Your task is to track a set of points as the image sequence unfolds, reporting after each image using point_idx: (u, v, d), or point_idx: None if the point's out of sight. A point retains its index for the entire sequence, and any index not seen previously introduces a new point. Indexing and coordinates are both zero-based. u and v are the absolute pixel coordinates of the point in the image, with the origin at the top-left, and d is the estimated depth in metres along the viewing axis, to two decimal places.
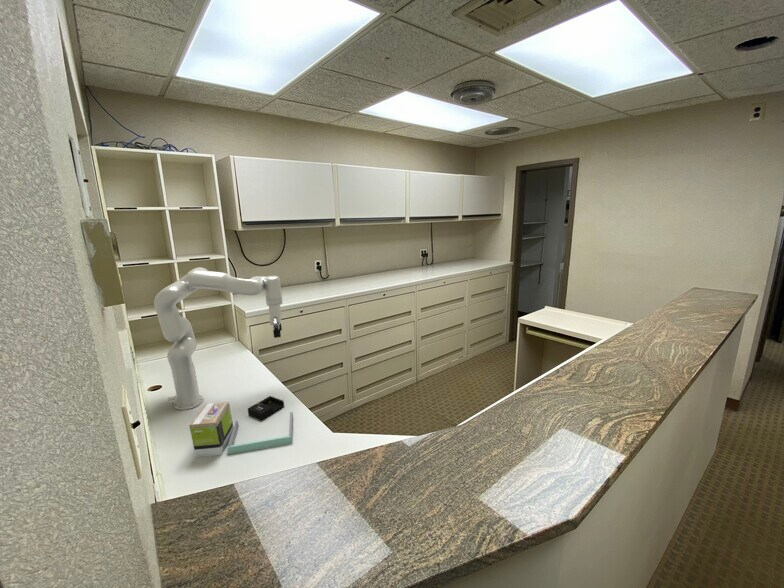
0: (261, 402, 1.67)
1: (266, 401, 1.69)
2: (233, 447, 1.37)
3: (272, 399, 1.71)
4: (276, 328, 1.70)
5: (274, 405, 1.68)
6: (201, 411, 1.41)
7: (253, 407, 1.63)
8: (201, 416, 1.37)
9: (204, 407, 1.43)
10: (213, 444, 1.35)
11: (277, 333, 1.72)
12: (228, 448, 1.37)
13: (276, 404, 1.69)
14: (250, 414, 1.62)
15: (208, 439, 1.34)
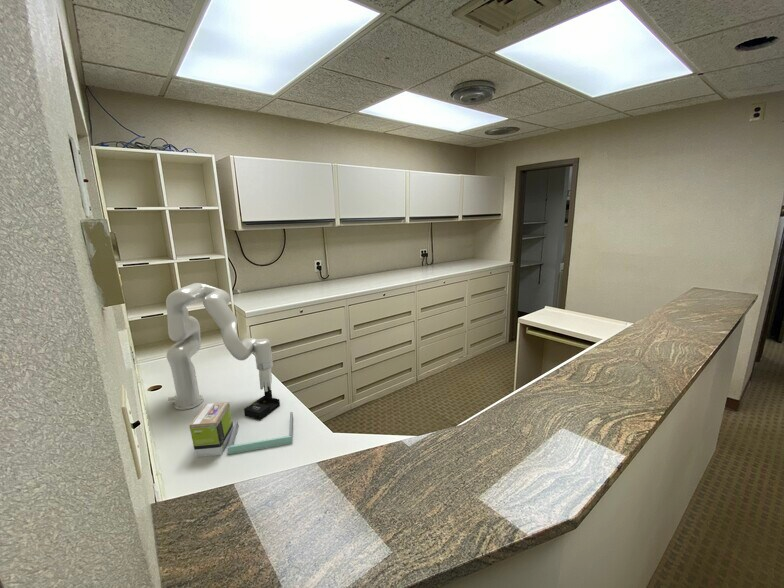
0: (256, 402, 1.67)
1: (261, 401, 1.69)
2: (233, 447, 1.37)
3: (267, 398, 1.72)
4: (267, 391, 1.72)
5: (269, 404, 1.69)
6: (201, 411, 1.41)
7: (249, 407, 1.63)
8: (201, 416, 1.37)
9: (204, 407, 1.43)
10: (213, 444, 1.35)
11: (268, 395, 1.73)
12: (228, 448, 1.37)
13: (271, 403, 1.70)
14: (247, 414, 1.61)
15: (208, 439, 1.34)
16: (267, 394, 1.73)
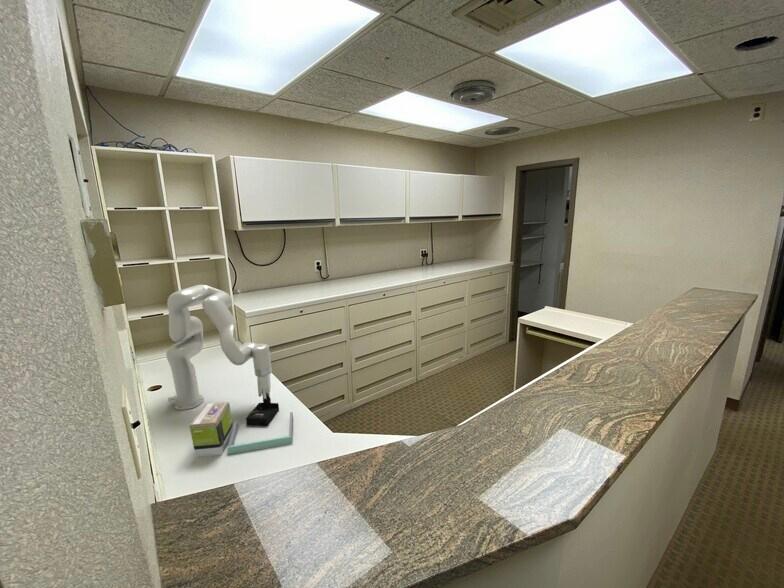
0: (255, 409, 1.60)
1: (259, 408, 1.63)
2: (233, 447, 1.37)
3: (263, 405, 1.66)
4: None
5: (268, 410, 1.64)
6: (201, 411, 1.41)
7: (251, 415, 1.56)
8: (201, 416, 1.37)
9: (204, 407, 1.43)
10: (213, 444, 1.35)
11: (267, 402, 1.67)
12: (228, 448, 1.37)
13: (270, 408, 1.65)
14: (250, 423, 1.54)
15: (208, 439, 1.34)
16: (266, 401, 1.67)
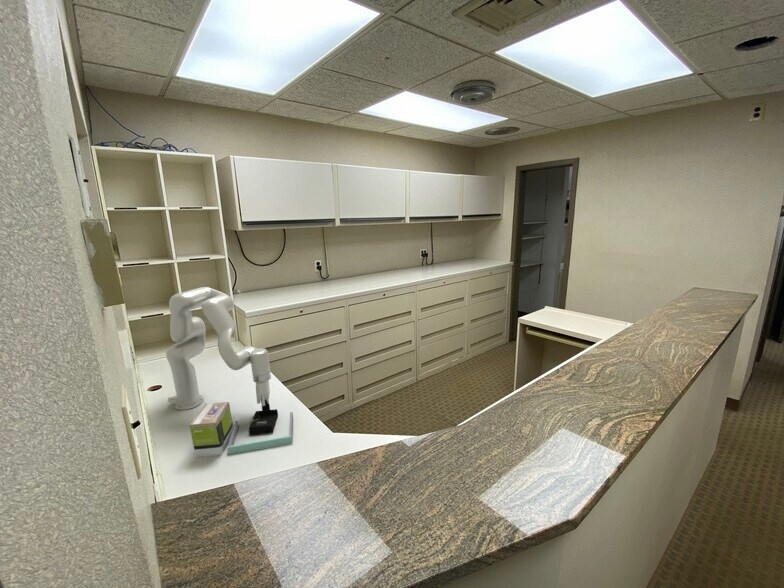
0: (255, 418, 1.54)
1: (258, 416, 1.57)
2: (233, 447, 1.37)
3: (261, 413, 1.60)
4: None
5: (268, 417, 1.59)
6: (201, 411, 1.41)
7: (253, 424, 1.50)
8: (201, 416, 1.37)
9: (204, 407, 1.43)
10: (213, 444, 1.35)
11: (266, 409, 1.61)
12: (228, 448, 1.37)
13: (269, 416, 1.60)
14: (253, 432, 1.48)
15: (208, 439, 1.34)
16: (265, 408, 1.61)
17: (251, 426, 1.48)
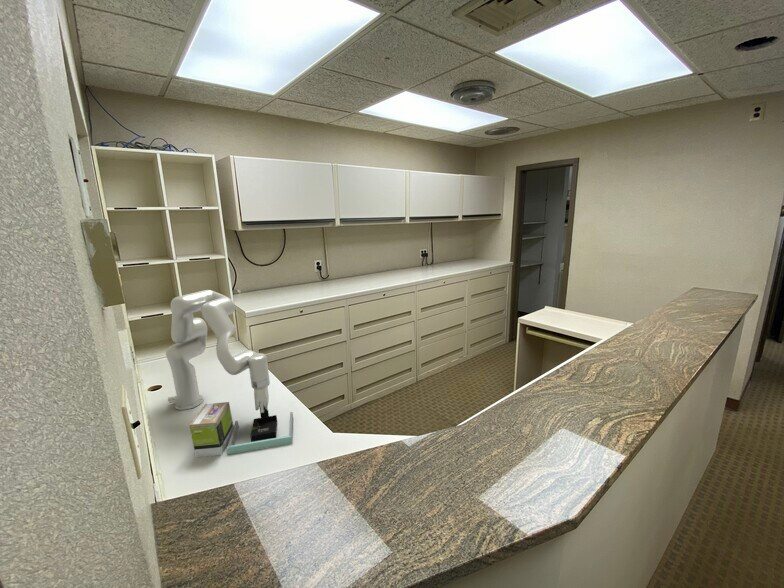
0: (255, 426, 1.49)
1: (257, 424, 1.51)
2: (233, 447, 1.37)
3: (259, 420, 1.54)
4: (263, 412, 1.54)
5: (267, 424, 1.54)
6: (201, 411, 1.41)
7: (255, 432, 1.44)
8: (201, 416, 1.37)
9: (204, 407, 1.43)
10: (213, 444, 1.35)
11: (265, 416, 1.56)
12: (228, 448, 1.37)
13: (268, 422, 1.55)
14: (256, 440, 1.43)
15: (208, 439, 1.34)
16: (263, 415, 1.55)
17: (253, 434, 1.43)
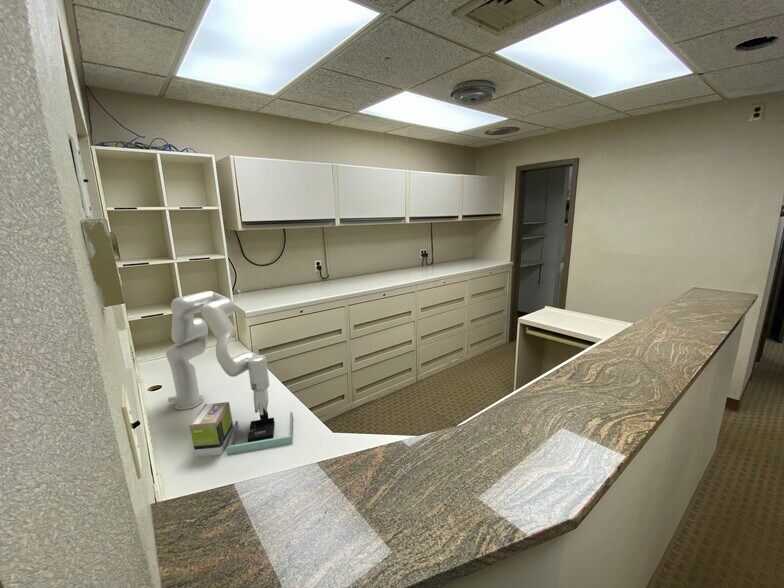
0: (252, 428, 1.47)
1: (254, 426, 1.49)
2: (233, 447, 1.37)
3: (256, 422, 1.52)
4: None
5: (264, 426, 1.52)
6: (201, 411, 1.41)
7: (252, 435, 1.42)
8: (201, 416, 1.37)
9: (204, 407, 1.43)
10: (213, 444, 1.35)
11: (264, 418, 1.54)
12: (228, 448, 1.37)
13: (265, 425, 1.53)
14: None
15: (208, 439, 1.34)
16: (263, 417, 1.54)
17: (250, 437, 1.41)
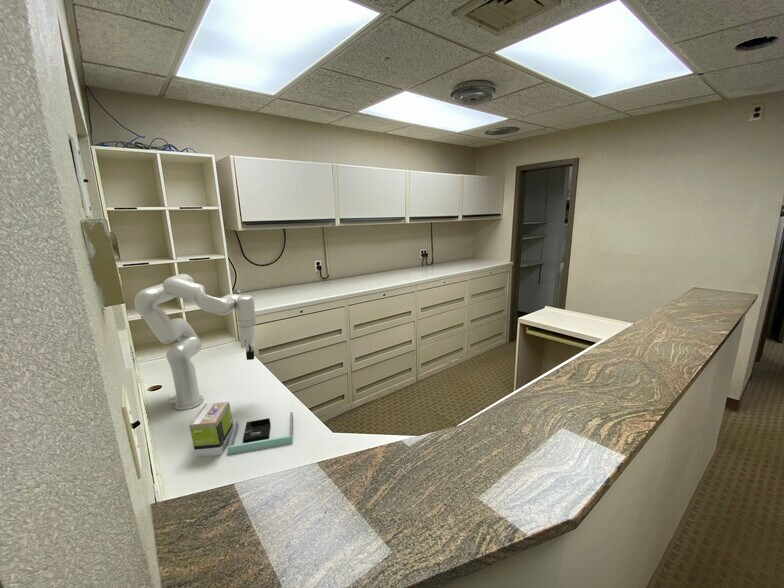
0: (248, 429, 1.46)
1: (250, 427, 1.49)
2: (233, 447, 1.37)
3: (252, 423, 1.52)
4: (249, 350, 1.64)
5: (260, 427, 1.51)
6: (201, 411, 1.41)
7: (247, 436, 1.42)
8: (201, 416, 1.37)
9: (204, 407, 1.43)
10: (213, 444, 1.35)
11: (250, 355, 1.66)
12: (228, 448, 1.37)
13: (261, 425, 1.52)
14: None
15: (208, 439, 1.34)
16: (249, 354, 1.65)
17: (245, 438, 1.41)
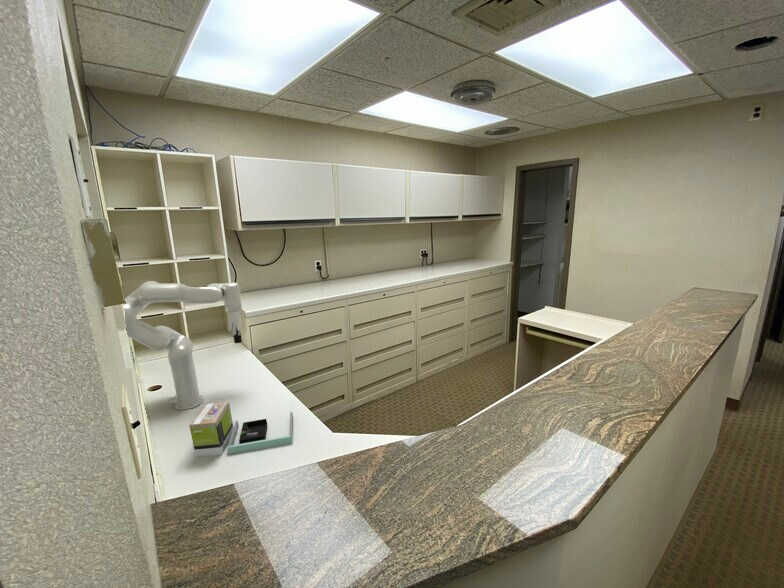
0: (244, 430, 1.46)
1: (246, 428, 1.49)
2: (233, 447, 1.37)
3: (249, 424, 1.52)
4: (236, 334, 1.75)
5: (257, 427, 1.51)
6: (201, 411, 1.41)
7: (244, 436, 1.42)
8: (201, 416, 1.37)
9: (204, 407, 1.43)
10: (213, 444, 1.35)
11: (237, 339, 1.77)
12: (228, 448, 1.37)
13: (258, 426, 1.52)
14: None
15: (208, 439, 1.34)
16: (236, 338, 1.77)
17: (241, 438, 1.40)
